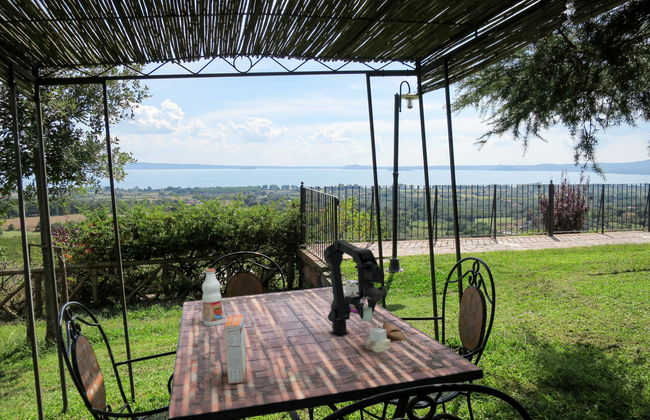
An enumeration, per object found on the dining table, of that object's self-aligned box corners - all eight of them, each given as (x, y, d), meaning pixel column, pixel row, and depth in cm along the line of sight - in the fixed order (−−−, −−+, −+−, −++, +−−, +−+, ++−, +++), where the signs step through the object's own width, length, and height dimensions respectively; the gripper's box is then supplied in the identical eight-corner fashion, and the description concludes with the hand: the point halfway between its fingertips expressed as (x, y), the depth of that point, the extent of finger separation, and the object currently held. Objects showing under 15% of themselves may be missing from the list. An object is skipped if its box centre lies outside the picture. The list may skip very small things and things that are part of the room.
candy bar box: (367, 312, 253) (366, 281, 252) (360, 314, 250) (359, 283, 249) (352, 308, 262) (351, 279, 261) (345, 310, 259) (344, 280, 258)
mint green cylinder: (358, 319, 199) (357, 308, 199) (367, 317, 202) (366, 306, 202) (366, 322, 195) (365, 309, 195) (374, 319, 198) (374, 307, 198)
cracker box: (231, 369, 181) (228, 314, 180) (247, 368, 182) (244, 313, 181) (226, 384, 167) (223, 325, 166) (244, 383, 168) (241, 324, 167)
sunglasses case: (406, 340, 205) (398, 327, 205) (393, 349, 205) (384, 336, 205) (400, 328, 223) (392, 316, 223) (387, 336, 223) (380, 324, 223)
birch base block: (366, 349, 198) (365, 339, 198) (379, 345, 202) (378, 335, 202) (377, 353, 192) (377, 343, 192) (390, 349, 196) (390, 339, 196)
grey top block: (369, 340, 196) (369, 331, 196) (375, 337, 200) (375, 327, 200) (380, 342, 193) (380, 332, 193) (386, 339, 197) (386, 329, 197)
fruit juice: (207, 321, 249) (204, 267, 248) (224, 320, 249) (222, 267, 247) (201, 326, 240) (198, 271, 239) (219, 326, 239) (216, 270, 238)
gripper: (359, 285, 186) (361, 325, 187) (394, 278, 197) (396, 316, 198) (342, 282, 195) (344, 320, 196) (376, 276, 206) (378, 312, 207)
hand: (366, 317), depth 199 cm, fingers closed on mint green cylinder, 5 cm apart
